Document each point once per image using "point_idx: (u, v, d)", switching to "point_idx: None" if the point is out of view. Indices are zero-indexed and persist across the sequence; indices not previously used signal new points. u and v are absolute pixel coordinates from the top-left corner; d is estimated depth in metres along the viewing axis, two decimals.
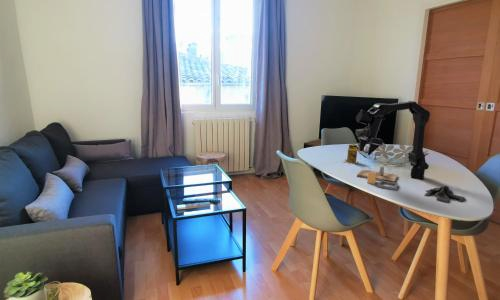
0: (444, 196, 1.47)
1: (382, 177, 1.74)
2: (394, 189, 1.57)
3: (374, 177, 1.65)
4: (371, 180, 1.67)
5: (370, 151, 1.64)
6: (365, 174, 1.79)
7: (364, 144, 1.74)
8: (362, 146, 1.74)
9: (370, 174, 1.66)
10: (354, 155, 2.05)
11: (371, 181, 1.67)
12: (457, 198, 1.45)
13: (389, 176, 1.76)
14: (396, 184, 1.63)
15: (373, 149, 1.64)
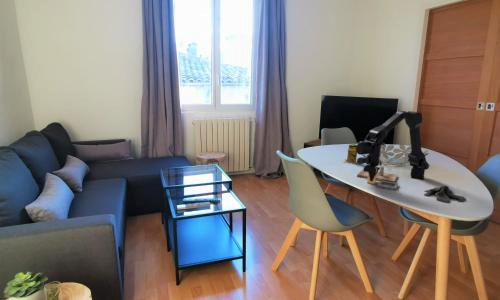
0: (444, 196, 1.47)
1: (382, 177, 1.74)
2: (394, 189, 1.57)
3: (374, 177, 1.65)
4: None
5: (371, 177, 1.65)
6: (365, 174, 1.79)
7: None
8: None
9: None
10: (354, 155, 2.05)
11: (371, 181, 1.67)
12: (457, 198, 1.45)
13: (389, 176, 1.76)
14: (396, 184, 1.63)
15: (373, 175, 1.64)
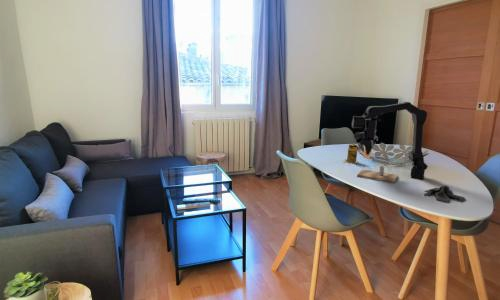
0: (444, 196, 1.47)
1: (382, 177, 1.74)
2: (387, 163, 1.70)
3: (370, 152, 1.78)
4: (366, 155, 1.79)
5: (367, 151, 1.77)
6: (365, 174, 1.79)
7: None
8: None
9: None
10: (354, 155, 2.05)
11: (367, 156, 1.79)
12: (457, 198, 1.45)
13: (389, 176, 1.76)
14: (389, 159, 1.75)
15: (369, 149, 1.76)
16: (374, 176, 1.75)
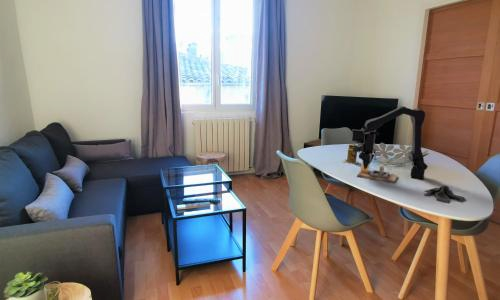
0: (444, 196, 1.47)
1: None
2: (385, 177, 1.72)
3: (367, 167, 1.80)
4: (364, 170, 1.81)
5: (365, 165, 1.77)
6: (365, 174, 1.79)
7: (370, 159, 1.82)
8: None
9: None
10: (354, 155, 2.05)
11: (364, 171, 1.81)
12: (457, 198, 1.45)
13: (389, 176, 1.76)
14: (387, 173, 1.77)
15: (367, 163, 1.76)
16: None
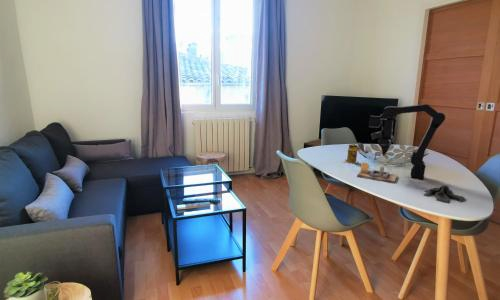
0: (444, 196, 1.47)
1: None
2: (385, 177, 1.72)
3: (367, 167, 1.80)
4: (364, 170, 1.81)
5: (383, 151, 1.78)
6: (365, 174, 1.79)
7: None
8: None
9: (363, 164, 1.81)
10: (354, 155, 2.05)
11: (364, 171, 1.81)
12: (457, 198, 1.45)
13: (389, 176, 1.76)
14: (387, 173, 1.77)
15: (385, 149, 1.77)
16: None
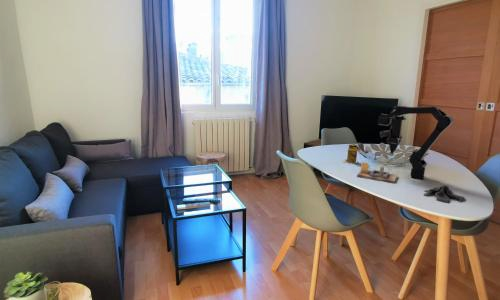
0: (444, 196, 1.47)
1: None
2: (385, 177, 1.72)
3: (367, 167, 1.80)
4: (364, 170, 1.81)
5: (391, 150, 1.81)
6: (365, 174, 1.79)
7: None
8: None
9: (363, 164, 1.81)
10: (354, 155, 2.05)
11: (364, 171, 1.81)
12: (457, 198, 1.45)
13: (389, 176, 1.76)
14: (387, 173, 1.77)
15: (393, 148, 1.79)
16: None
